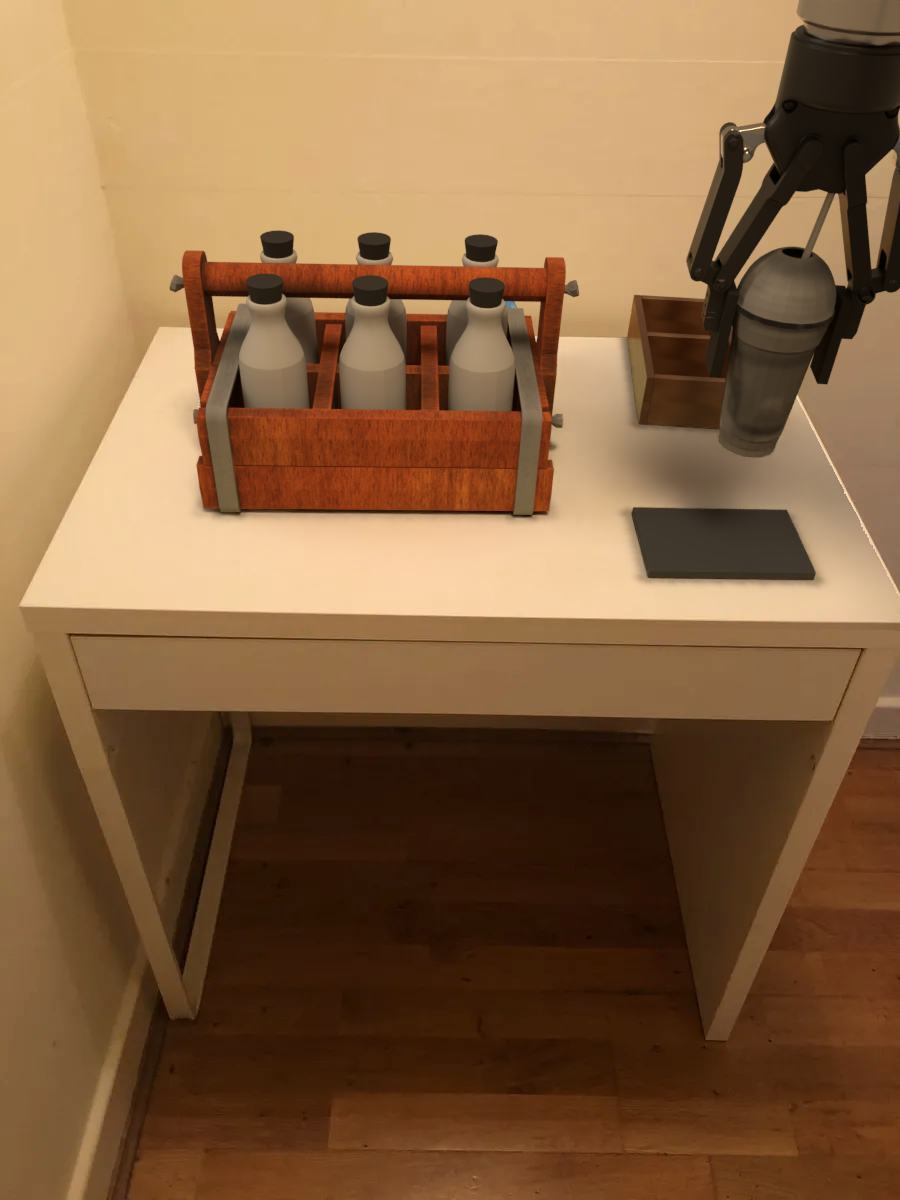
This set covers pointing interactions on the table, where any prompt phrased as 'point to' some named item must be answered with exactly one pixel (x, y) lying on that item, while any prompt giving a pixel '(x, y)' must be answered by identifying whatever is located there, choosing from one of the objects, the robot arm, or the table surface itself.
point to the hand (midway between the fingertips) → (765, 371)
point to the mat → (721, 544)
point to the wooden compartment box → (673, 363)
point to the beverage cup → (774, 342)
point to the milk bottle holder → (375, 381)
